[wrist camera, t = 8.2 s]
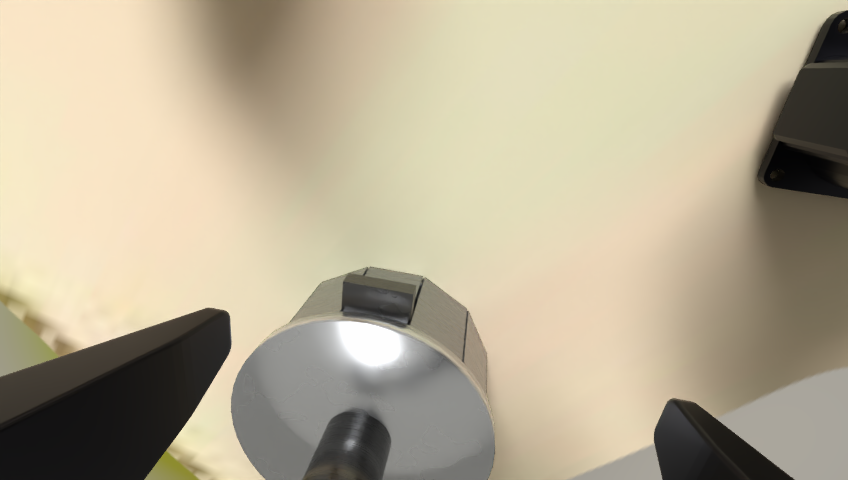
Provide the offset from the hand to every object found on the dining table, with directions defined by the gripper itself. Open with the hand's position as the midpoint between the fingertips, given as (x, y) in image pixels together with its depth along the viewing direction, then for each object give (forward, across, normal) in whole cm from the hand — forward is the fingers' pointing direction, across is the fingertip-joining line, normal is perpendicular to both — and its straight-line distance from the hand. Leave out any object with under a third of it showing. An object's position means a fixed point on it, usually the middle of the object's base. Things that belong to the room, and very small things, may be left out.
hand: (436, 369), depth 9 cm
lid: (+8, +3, +10) cm, 13 cm away
